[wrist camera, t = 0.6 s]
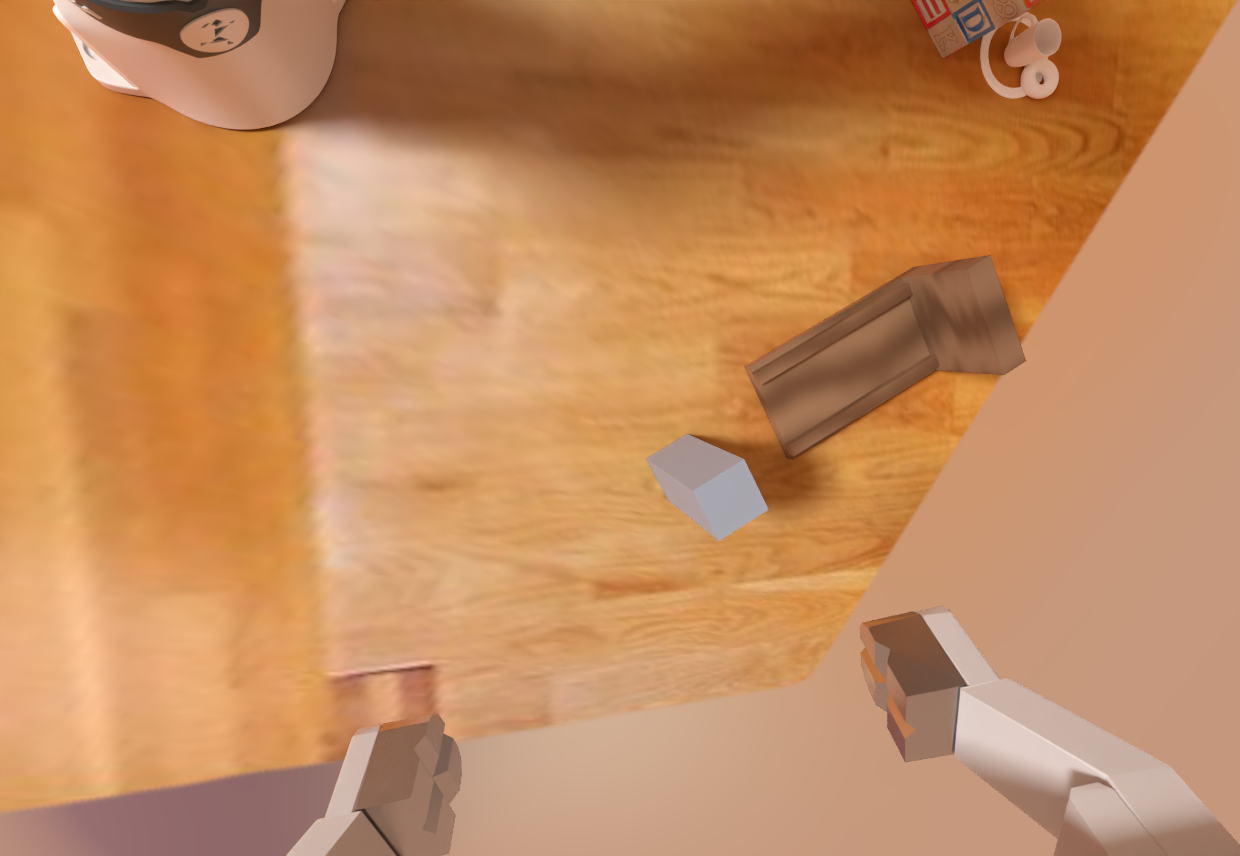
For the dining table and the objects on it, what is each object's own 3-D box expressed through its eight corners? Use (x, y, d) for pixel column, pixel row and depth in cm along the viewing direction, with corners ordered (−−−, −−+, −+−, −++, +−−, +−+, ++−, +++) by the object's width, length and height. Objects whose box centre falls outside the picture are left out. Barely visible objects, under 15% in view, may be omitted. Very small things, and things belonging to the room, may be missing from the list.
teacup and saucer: (1051, 95, 61) (1091, 79, 57) (987, 119, 59) (1023, 103, 55) (1035, 1, 59) (1075, -22, 55) (968, 24, 57) (1004, 1, 53)
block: (645, 458, 55) (692, 490, 44) (687, 433, 56) (744, 459, 44) (667, 499, 56) (718, 541, 45) (707, 474, 57) (768, 509, 46)
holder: (744, 366, 56) (794, 372, 48) (914, 267, 59) (990, 255, 51) (786, 457, 59) (841, 478, 50) (947, 357, 62) (1026, 361, 53)
